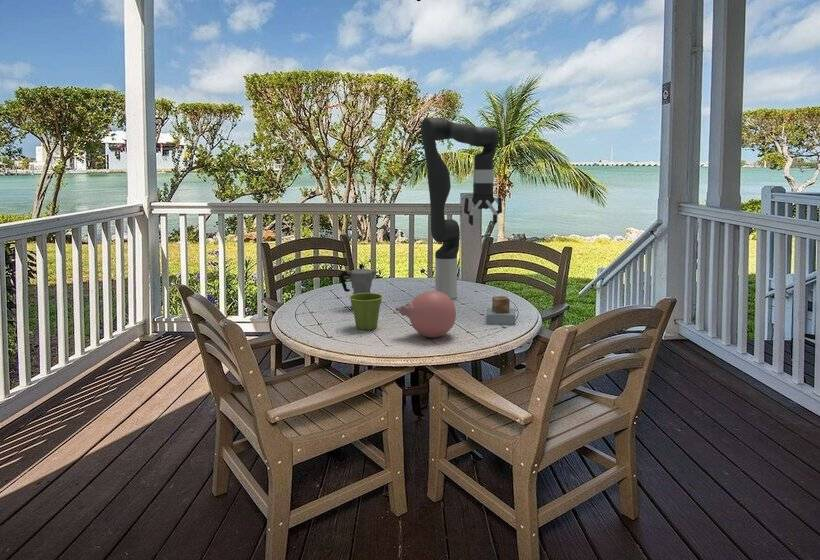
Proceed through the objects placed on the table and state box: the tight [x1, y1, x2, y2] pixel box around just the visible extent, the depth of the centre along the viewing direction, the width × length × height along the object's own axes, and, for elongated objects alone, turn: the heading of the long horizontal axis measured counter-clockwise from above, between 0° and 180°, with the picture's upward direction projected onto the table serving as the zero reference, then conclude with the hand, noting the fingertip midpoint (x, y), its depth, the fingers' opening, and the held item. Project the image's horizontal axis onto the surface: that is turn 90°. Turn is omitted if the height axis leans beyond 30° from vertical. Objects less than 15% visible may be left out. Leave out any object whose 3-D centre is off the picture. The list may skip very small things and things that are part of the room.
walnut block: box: [491, 295, 511, 313], centre depth 213 cm, size 5×5×5 cm
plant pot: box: [348, 292, 384, 331], centre depth 206 cm, size 12×12×11 cm
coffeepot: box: [338, 263, 379, 311], centre depth 232 cm, size 15×9×18 cm, turn 107°
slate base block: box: [486, 307, 516, 326], centre depth 214 cm, size 10×10×4 cm
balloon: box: [394, 290, 457, 338], centre depth 194 cm, size 15×20×15 cm
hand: (482, 224), depth 225 cm, fingers open, 8 cm apart
